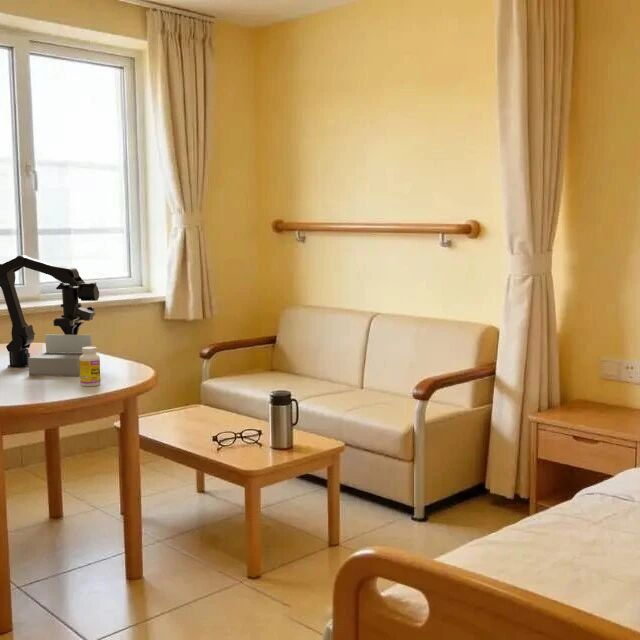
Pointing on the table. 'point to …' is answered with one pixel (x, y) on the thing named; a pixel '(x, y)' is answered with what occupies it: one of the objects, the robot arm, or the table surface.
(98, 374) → the supplement bottle
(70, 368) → the cabinet
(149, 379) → the table surface
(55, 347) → the rear flap
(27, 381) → the table surface
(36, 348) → the table surface
